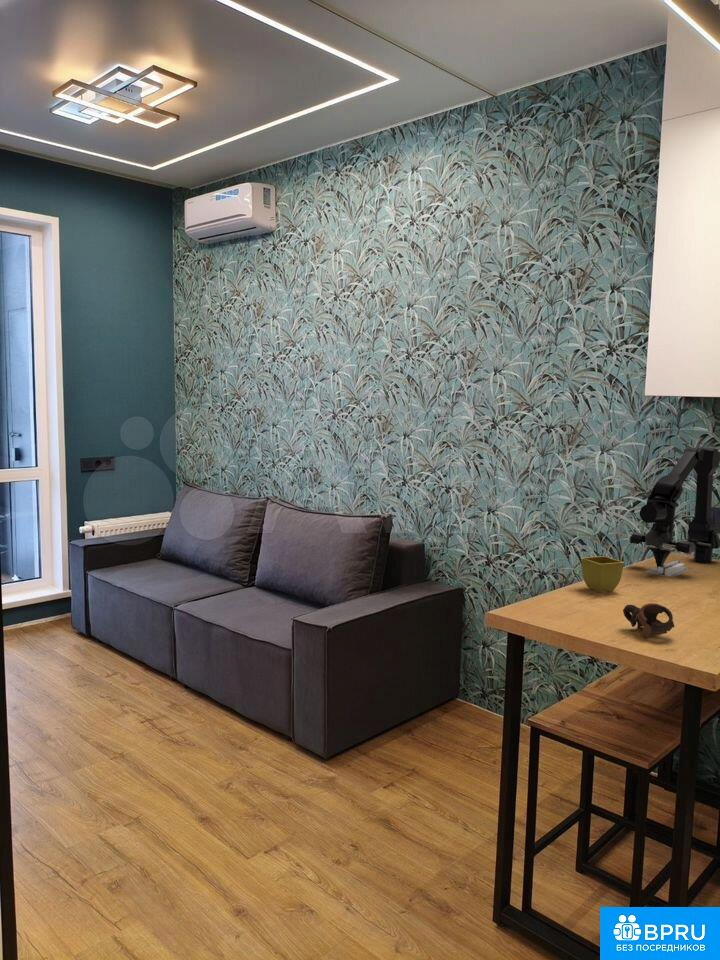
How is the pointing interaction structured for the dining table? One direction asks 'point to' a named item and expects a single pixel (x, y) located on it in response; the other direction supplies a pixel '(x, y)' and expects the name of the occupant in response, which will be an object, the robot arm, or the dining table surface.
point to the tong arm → (666, 566)
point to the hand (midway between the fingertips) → (659, 569)
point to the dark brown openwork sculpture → (649, 618)
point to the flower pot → (601, 573)
